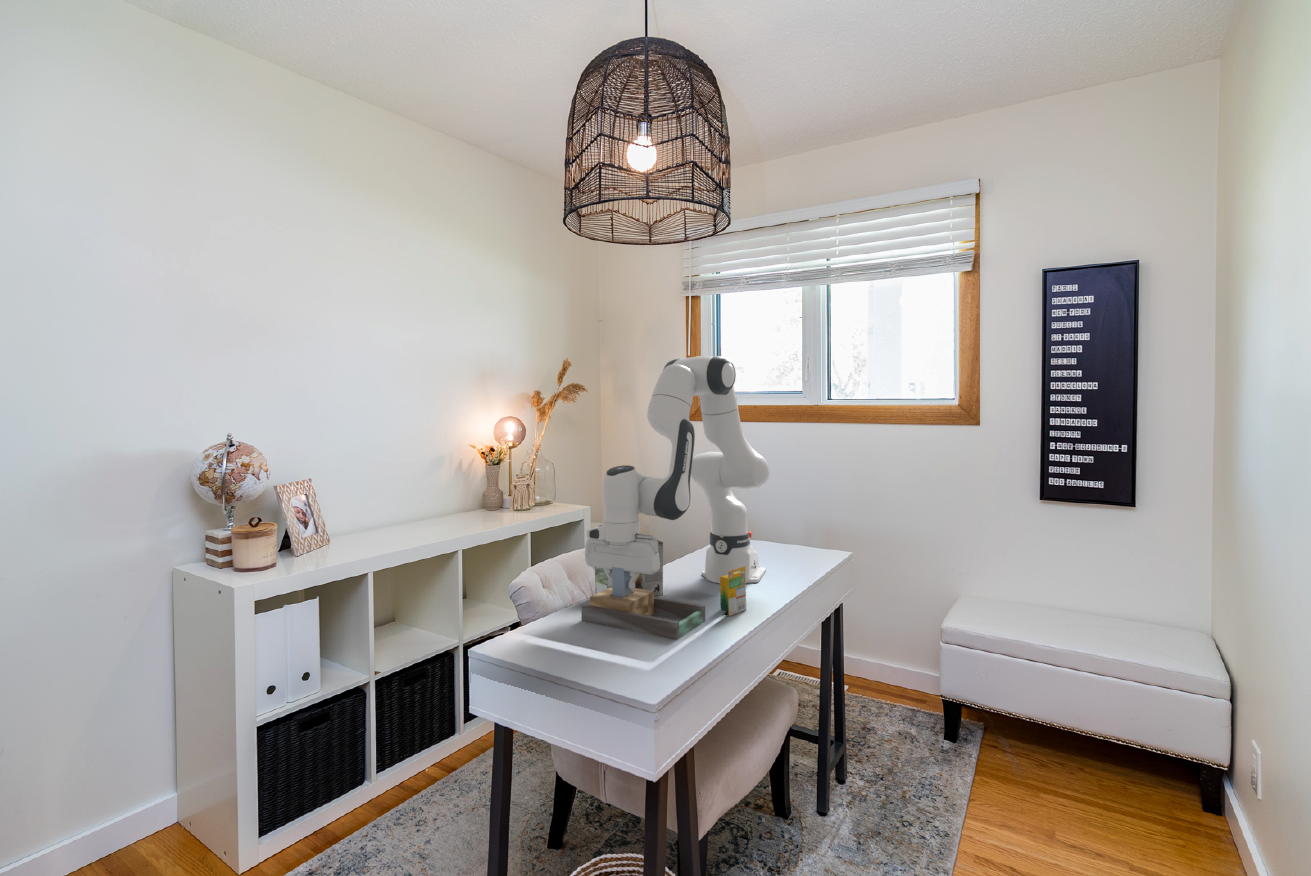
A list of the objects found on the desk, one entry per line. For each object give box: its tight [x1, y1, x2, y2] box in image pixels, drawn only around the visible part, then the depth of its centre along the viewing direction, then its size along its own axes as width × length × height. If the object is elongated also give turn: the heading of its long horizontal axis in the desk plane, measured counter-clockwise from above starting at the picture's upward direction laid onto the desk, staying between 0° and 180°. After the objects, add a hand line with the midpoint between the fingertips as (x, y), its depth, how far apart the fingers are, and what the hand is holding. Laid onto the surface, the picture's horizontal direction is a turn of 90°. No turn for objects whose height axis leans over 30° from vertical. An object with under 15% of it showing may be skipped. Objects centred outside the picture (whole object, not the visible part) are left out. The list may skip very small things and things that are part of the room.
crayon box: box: [719, 566, 747, 617], centre depth 165 cm, size 7×3×12 cm, turn 134°
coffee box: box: [635, 539, 664, 597], centre depth 180 cm, size 9×6×16 cm
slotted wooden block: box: [589, 587, 655, 616], centre depth 159 cm, size 11×11×6 cm
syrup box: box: [594, 567, 611, 594], centre depth 176 cm, size 6×6×14 cm
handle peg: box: [612, 567, 632, 598], centre depth 158 cm, size 4×4×10 cm
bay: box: [580, 596, 706, 641], centre depth 156 cm, size 14×26×5 cm, turn 59°
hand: (622, 587), depth 159 cm, fingers open, 4 cm apart
